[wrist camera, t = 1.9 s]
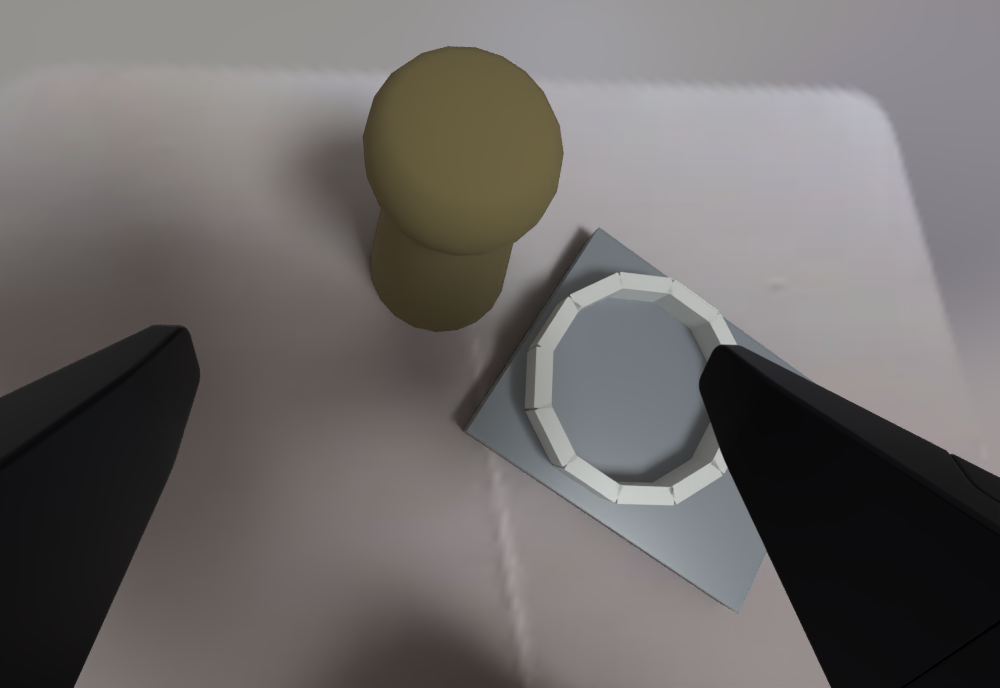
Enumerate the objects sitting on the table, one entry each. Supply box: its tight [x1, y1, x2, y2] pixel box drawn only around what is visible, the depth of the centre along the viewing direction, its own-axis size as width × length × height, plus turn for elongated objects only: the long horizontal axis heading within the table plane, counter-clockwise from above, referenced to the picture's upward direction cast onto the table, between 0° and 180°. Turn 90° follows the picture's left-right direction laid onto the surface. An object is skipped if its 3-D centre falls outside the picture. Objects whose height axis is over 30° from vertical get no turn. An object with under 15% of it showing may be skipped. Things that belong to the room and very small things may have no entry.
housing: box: [463, 228, 814, 614], centre depth 21 cm, size 14×11×3 cm
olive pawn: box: [363, 46, 564, 332], centre depth 17 cm, size 6×6×11 cm
